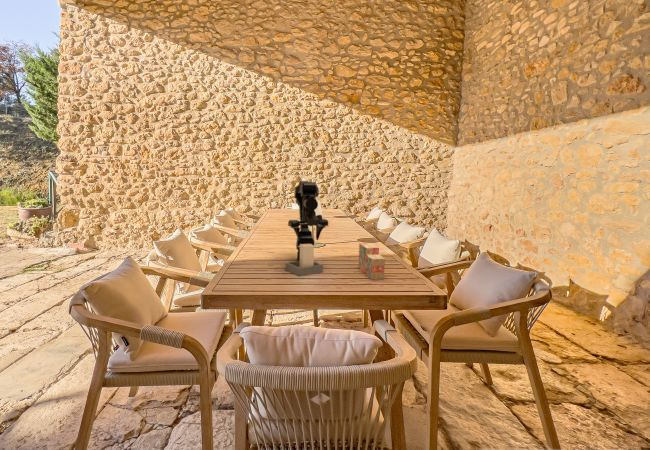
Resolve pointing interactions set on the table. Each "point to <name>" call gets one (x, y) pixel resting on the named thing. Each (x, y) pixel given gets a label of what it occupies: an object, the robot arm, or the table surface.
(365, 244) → the stack of blocks
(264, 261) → the table surface
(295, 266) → the grey square tray
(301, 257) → the cream block
